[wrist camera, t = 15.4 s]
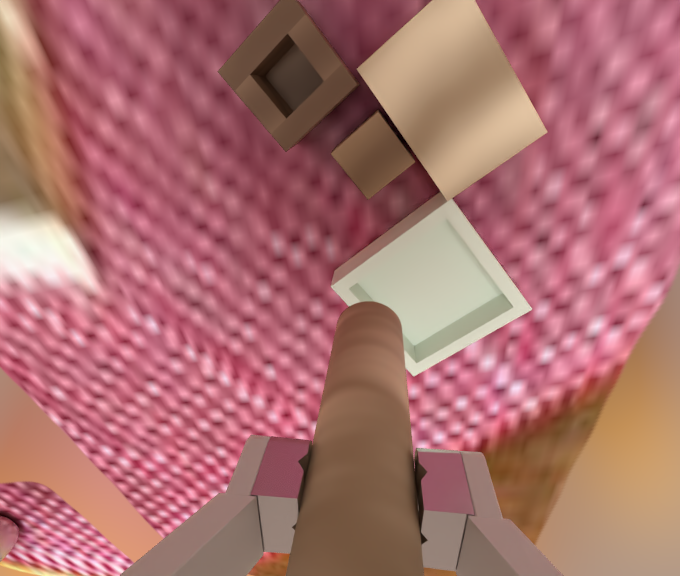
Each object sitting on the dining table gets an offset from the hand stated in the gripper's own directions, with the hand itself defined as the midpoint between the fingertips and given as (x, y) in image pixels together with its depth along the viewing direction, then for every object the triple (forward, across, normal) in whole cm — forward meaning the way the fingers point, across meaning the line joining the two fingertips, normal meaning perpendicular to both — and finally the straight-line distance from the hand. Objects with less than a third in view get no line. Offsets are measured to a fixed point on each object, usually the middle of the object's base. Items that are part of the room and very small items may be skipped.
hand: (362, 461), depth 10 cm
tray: (+24, -4, +6) cm, 25 cm away
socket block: (+23, +6, -9) cm, 26 cm away
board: (+24, -4, -8) cm, 26 cm away
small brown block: (+24, 0, -5) cm, 24 cm away
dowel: (+6, 0, 0) cm, 6 cm away
